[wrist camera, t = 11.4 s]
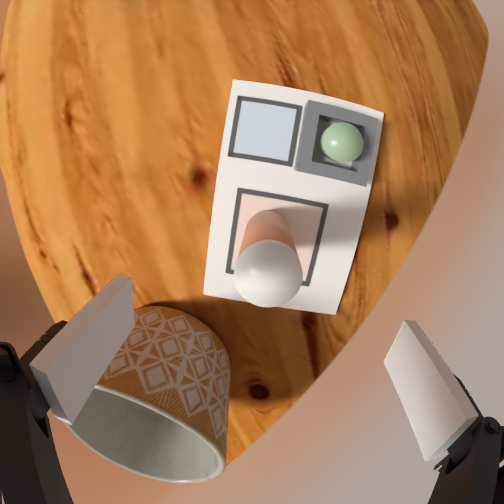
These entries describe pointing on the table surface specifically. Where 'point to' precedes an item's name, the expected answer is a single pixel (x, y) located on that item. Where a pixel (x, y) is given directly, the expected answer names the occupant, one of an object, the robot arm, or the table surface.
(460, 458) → the robot arm
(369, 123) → the button housing
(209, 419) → the planter
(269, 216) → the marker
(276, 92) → the sheet
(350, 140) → the button
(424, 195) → the table surface
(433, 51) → the table surface
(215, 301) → the table surface
